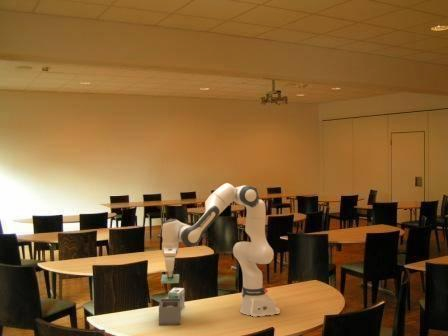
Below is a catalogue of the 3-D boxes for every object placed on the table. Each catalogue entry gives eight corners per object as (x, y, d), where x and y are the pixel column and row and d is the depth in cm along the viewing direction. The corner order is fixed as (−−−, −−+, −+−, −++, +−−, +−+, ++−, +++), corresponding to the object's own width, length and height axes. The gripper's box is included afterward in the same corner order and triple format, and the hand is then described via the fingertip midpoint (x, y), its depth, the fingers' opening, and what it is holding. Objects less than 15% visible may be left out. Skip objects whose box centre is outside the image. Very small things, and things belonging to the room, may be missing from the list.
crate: (180, 315, 250) (180, 298, 250) (180, 324, 236) (180, 307, 235) (160, 315, 250) (160, 298, 250) (158, 325, 235) (158, 307, 235)
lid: (179, 276, 249) (179, 267, 249) (178, 282, 236) (178, 273, 236) (162, 276, 249) (162, 268, 249) (160, 283, 235) (160, 274, 235)
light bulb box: (179, 312, 256) (179, 293, 256) (167, 311, 257) (168, 292, 257) (184, 306, 266) (184, 287, 266) (173, 305, 268) (173, 287, 268)
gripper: (165, 246, 252) (165, 271, 252) (163, 253, 232) (163, 280, 232) (176, 246, 253) (176, 270, 253) (175, 253, 232) (175, 280, 233)
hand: (170, 275), depth 242 cm, fingers closed on lid, 3 cm apart
